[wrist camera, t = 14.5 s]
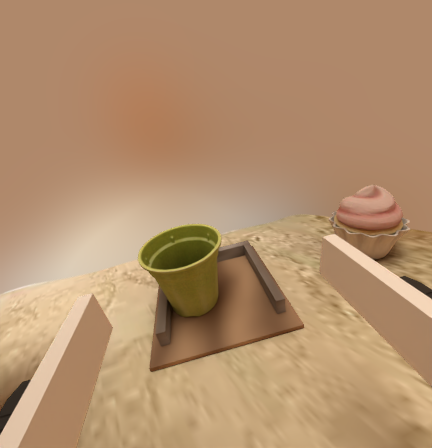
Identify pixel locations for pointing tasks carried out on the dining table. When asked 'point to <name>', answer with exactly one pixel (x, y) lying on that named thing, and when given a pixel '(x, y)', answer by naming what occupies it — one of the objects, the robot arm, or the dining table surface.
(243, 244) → the keeper bracket
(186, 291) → the plant pot
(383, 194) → the cupcake
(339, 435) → the dining table surface
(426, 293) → the robot arm
